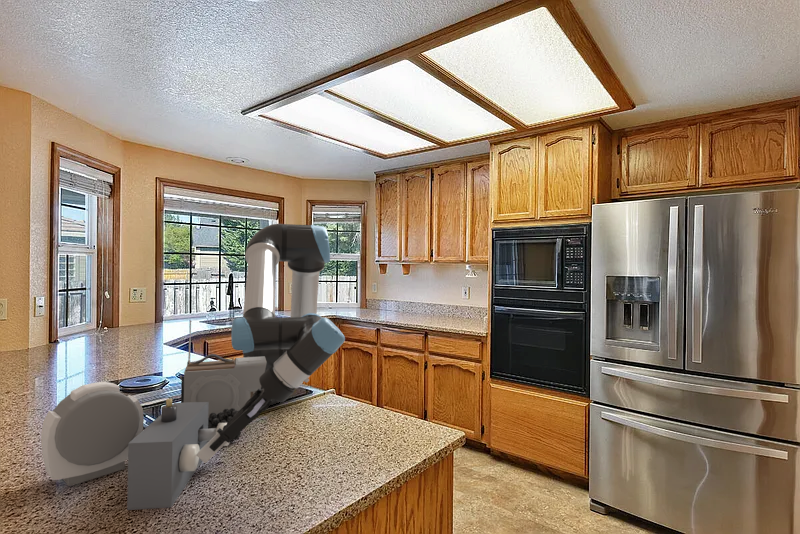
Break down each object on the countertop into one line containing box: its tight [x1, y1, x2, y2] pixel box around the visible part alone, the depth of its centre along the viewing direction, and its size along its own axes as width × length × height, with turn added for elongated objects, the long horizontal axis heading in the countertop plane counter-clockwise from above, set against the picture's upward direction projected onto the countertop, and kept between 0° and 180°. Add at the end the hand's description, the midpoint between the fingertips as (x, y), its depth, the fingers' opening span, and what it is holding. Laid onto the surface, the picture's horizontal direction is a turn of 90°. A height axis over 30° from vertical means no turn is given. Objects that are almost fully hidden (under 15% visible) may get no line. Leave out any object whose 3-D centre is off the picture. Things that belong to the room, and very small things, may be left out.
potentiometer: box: [160, 398, 177, 423], centre depth 95 cm, size 3×3×5 cm
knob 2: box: [198, 423, 231, 447], centre depth 102 cm, size 5×7×5 cm
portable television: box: [179, 319, 267, 418], centre depth 131 cm, size 12×24×30 cm, turn 112°
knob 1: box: [179, 444, 200, 472], centre depth 89 cm, size 5×7×5 cm
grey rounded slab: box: [40, 381, 145, 487], centre depth 96 cm, size 18×8×20 cm, turn 141°
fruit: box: [208, 408, 242, 442], centre depth 115 cm, size 9×8×15 cm
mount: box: [126, 402, 209, 511], centre depth 95 cm, size 24×8×13 cm, turn 9°
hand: (201, 457), depth 90 cm, fingers closed
